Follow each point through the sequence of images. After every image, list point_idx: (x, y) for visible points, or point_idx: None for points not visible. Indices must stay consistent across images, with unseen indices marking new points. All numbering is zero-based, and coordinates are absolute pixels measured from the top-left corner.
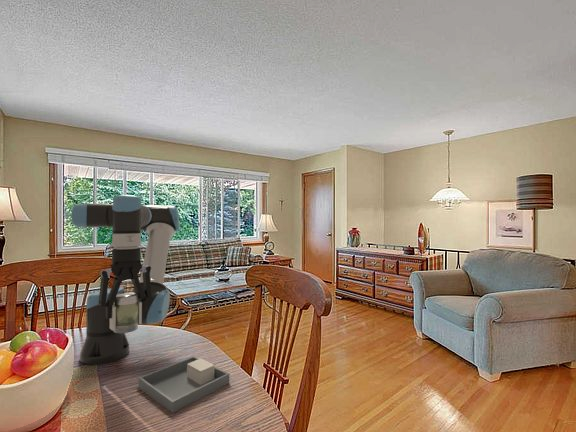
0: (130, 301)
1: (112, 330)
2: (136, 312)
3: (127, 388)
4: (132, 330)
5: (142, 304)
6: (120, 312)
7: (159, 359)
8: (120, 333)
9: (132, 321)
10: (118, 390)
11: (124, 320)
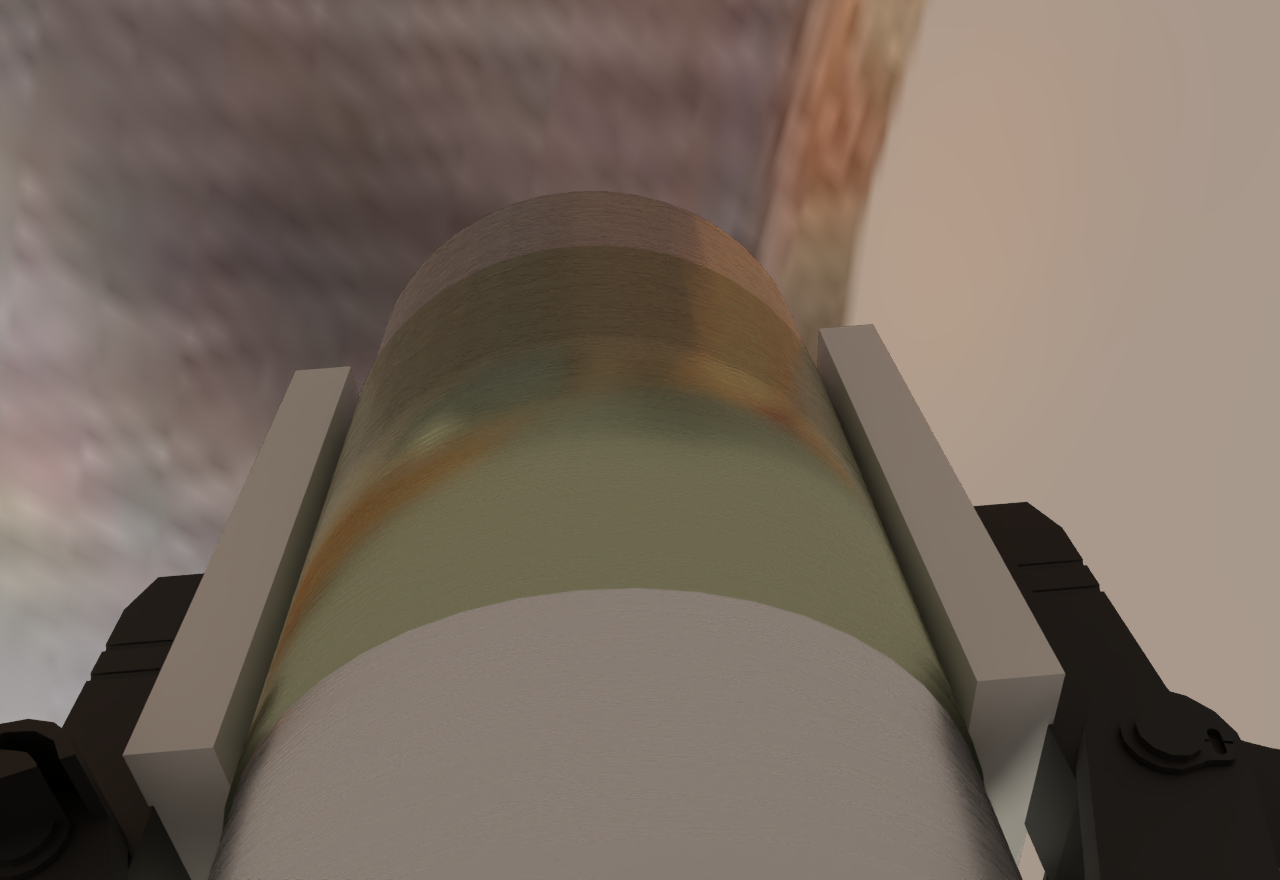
0: (567, 666)
1: (873, 328)
2: (374, 451)
3: (579, 13)
4: (517, 206)
5: (132, 729)
6: (830, 487)
7: (181, 414)
8: None
9: (511, 287)
10: (659, 35)
11: (704, 322)
